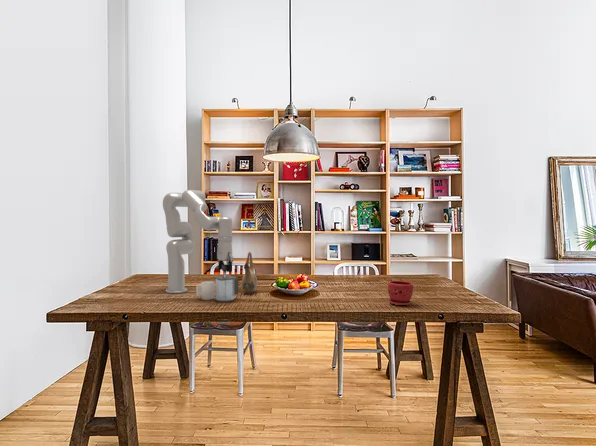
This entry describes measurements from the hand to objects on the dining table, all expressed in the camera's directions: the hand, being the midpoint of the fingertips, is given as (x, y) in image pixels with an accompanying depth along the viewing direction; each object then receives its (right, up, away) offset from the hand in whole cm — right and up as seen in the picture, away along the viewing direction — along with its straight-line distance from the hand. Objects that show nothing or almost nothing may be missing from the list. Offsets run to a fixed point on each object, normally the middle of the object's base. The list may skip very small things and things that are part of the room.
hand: (225, 270), depth 221 cm
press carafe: (+1, -16, +1) cm, 17 cm away
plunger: (0, -13, 0) cm, 13 cm away
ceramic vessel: (+11, -16, +19) cm, 27 cm away
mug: (-12, -16, +4) cm, 21 cm away
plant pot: (+95, -18, -6) cm, 97 cm away
